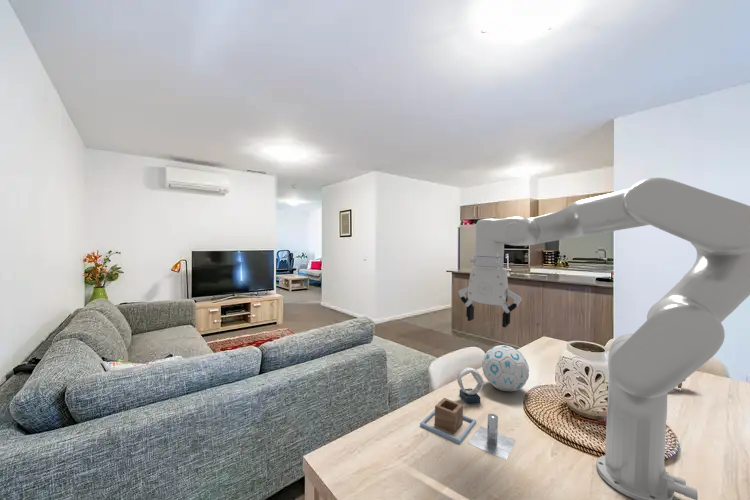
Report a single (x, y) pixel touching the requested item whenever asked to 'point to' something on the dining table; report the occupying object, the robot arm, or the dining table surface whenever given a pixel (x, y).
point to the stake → (492, 439)
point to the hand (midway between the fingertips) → (487, 323)
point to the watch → (470, 394)
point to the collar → (449, 415)
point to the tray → (424, 425)
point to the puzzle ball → (505, 368)
